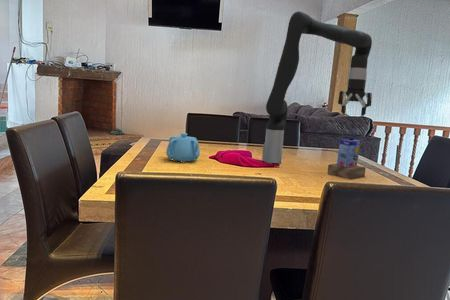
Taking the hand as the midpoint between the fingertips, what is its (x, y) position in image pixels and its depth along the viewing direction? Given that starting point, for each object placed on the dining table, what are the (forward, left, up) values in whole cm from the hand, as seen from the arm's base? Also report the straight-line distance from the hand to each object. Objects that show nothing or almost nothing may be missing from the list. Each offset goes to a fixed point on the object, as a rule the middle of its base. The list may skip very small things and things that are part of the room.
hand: (352, 114), depth 176 cm
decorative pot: (-70, -35, -28) cm, 83 cm away
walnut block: (0, 0, -29) cm, 29 cm away
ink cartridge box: (0, 0, -24) cm, 24 cm away
